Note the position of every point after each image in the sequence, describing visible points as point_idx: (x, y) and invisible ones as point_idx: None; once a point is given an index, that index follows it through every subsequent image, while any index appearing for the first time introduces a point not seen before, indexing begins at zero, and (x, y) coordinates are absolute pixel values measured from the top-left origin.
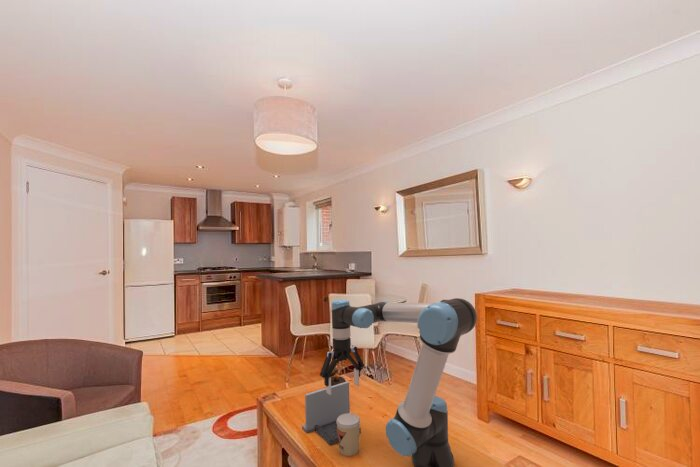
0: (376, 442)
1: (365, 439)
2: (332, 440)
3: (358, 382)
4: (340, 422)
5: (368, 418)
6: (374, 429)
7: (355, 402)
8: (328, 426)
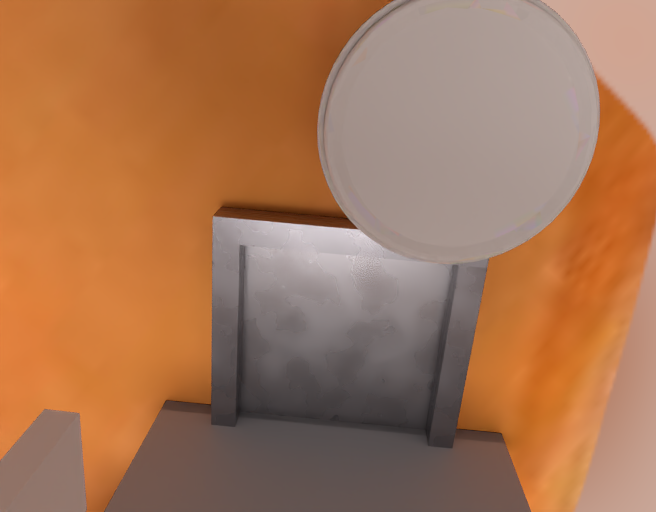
0: (200, 33)
1: (243, 122)
2: None
3: (22, 458)
4: (574, 141)
5: (63, 308)
6: (109, 174)
7: None
8: (356, 402)
